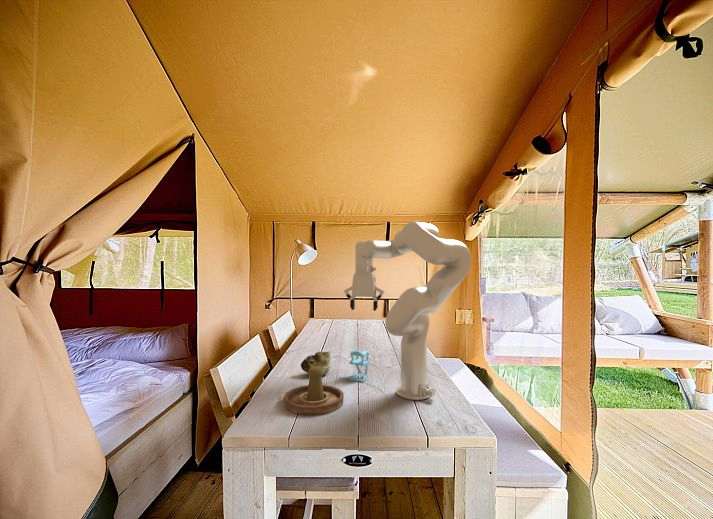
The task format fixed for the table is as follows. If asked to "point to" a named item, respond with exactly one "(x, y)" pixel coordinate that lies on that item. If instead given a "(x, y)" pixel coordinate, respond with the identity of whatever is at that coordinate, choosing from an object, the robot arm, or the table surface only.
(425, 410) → the table surface
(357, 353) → the chair
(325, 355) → the seashell
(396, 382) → the table surface
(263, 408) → the table surface
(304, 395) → the ring tray
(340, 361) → the table surface
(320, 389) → the cork
